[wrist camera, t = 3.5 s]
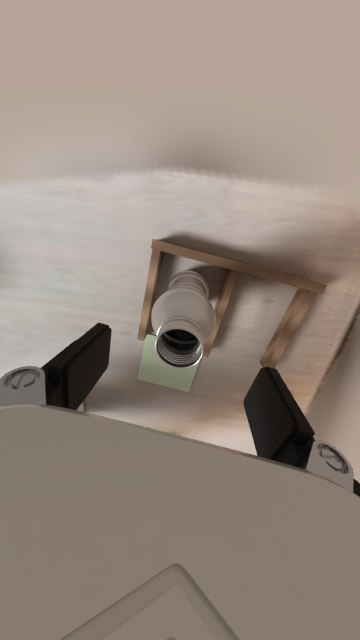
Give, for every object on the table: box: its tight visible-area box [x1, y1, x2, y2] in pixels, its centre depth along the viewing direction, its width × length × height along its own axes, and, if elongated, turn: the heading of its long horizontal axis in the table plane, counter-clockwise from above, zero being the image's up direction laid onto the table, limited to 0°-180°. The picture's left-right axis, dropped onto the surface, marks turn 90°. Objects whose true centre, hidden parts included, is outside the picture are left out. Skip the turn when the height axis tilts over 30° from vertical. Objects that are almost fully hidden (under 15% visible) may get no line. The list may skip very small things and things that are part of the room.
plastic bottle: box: [151, 270, 216, 369], centre depth 22 cm, size 6×7×20 cm
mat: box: [137, 334, 199, 392], centre depth 38 cm, size 12×12×1 cm
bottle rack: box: [138, 239, 327, 368], centre depth 31 cm, size 17×26×4 cm
